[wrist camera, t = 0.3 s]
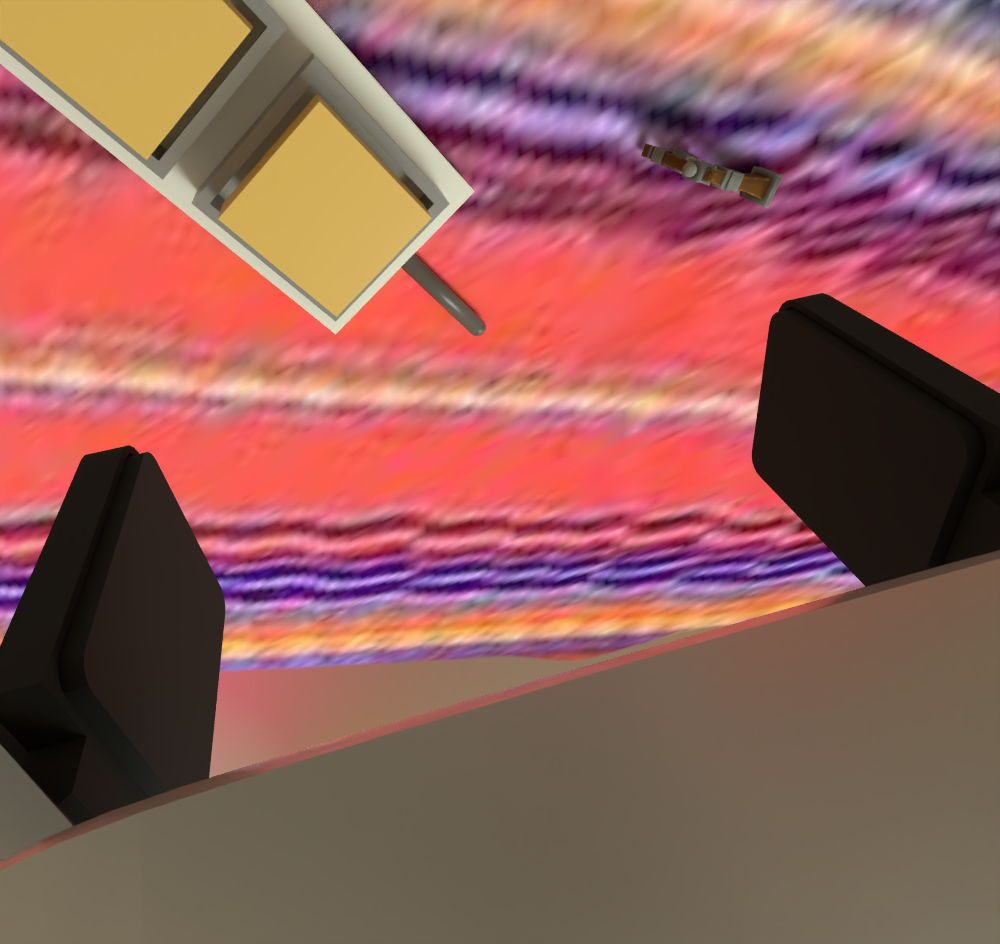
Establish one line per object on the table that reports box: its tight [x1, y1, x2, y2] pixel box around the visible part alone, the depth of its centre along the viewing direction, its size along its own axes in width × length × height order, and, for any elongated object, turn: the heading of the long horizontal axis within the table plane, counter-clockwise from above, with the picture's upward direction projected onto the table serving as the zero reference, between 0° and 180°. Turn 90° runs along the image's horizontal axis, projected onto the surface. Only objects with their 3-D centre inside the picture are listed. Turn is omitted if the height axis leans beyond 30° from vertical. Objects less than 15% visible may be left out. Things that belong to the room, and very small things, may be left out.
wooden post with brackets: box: [641, 144, 783, 208], centre depth 37 cm, size 2×8×4 cm, turn 73°
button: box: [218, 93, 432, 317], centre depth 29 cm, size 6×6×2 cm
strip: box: [0, 0, 486, 336], centre depth 29 cm, size 10×35×5 cm, turn 42°
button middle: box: [0, 0, 253, 160], centre depth 24 cm, size 6×6×2 cm
